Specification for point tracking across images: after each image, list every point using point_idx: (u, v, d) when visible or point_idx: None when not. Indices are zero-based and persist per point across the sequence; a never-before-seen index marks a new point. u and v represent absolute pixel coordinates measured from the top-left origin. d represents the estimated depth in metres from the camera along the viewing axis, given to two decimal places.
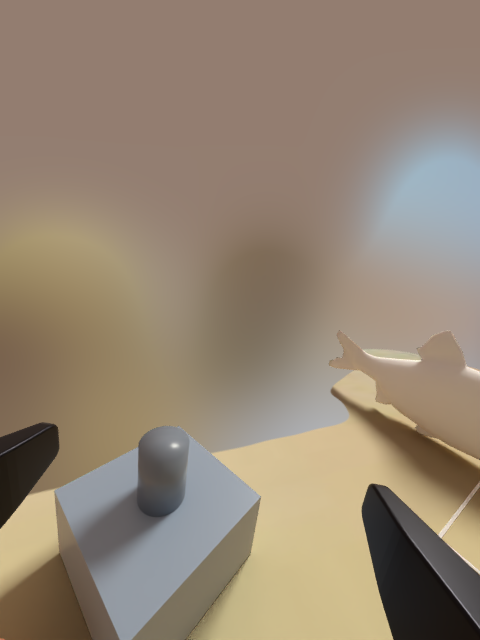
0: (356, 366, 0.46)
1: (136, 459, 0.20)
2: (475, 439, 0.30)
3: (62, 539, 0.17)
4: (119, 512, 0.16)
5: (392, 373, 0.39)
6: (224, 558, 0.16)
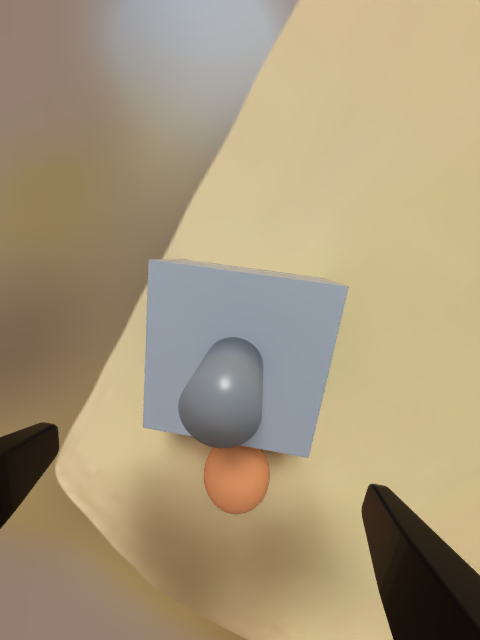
0: None
1: (165, 351, 0.14)
2: None
3: None
4: None
5: None
6: None
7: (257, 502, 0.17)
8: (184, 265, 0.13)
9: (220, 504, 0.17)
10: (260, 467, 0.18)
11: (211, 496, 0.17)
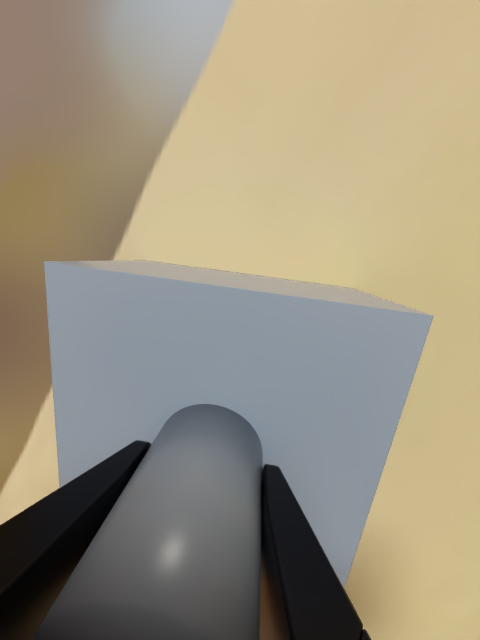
0: None
1: (88, 424, 0.08)
2: None
3: None
4: None
5: None
6: None
7: None
8: (111, 272, 0.07)
9: None
10: None
11: None
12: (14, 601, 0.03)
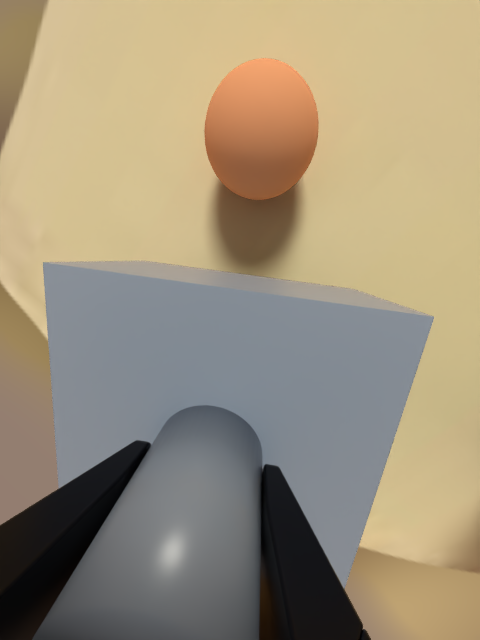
0: None
1: (87, 426, 0.08)
2: None
3: None
4: None
5: None
6: None
7: (302, 132, 0.10)
8: (110, 273, 0.07)
9: (236, 123, 0.09)
10: (306, 83, 0.10)
11: (218, 125, 0.10)
12: (14, 601, 0.03)
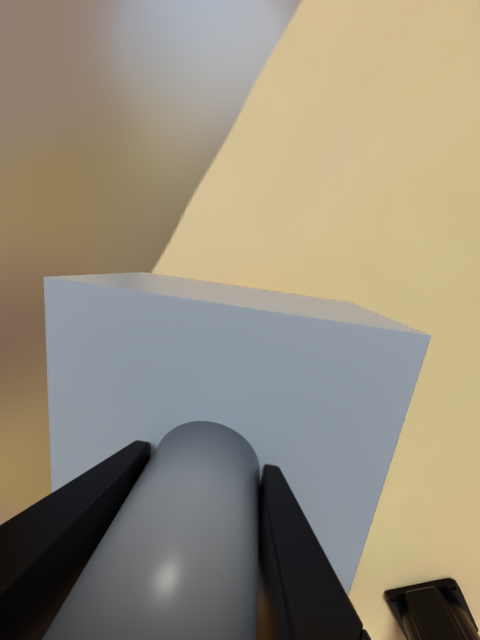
0: None
1: (83, 441, 0.08)
2: None
3: None
4: None
5: None
6: None
7: None
8: (110, 288, 0.07)
9: None
10: None
11: None
12: (14, 601, 0.03)
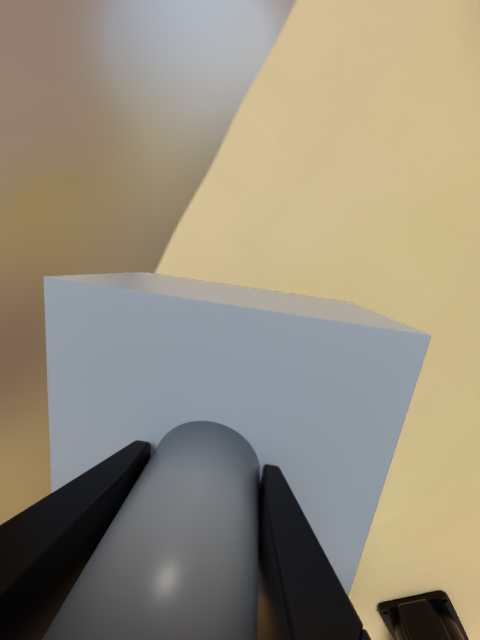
0: None
1: (83, 440, 0.08)
2: None
3: None
4: None
5: None
6: None
7: None
8: (110, 288, 0.07)
9: None
10: None
11: None
12: (14, 601, 0.03)
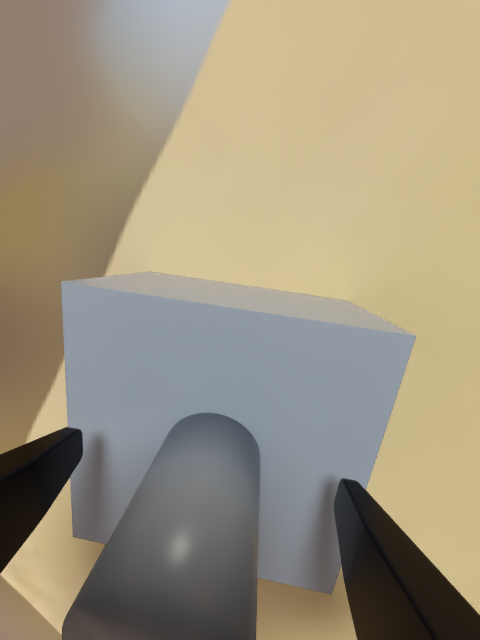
0: None
1: (99, 430, 0.08)
2: None
3: None
4: None
5: None
6: None
7: None
8: (123, 292, 0.07)
9: None
10: None
11: None
12: None
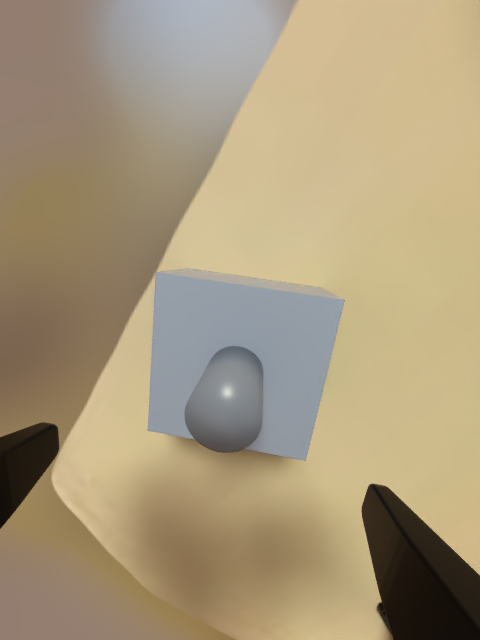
0: None
1: (170, 359, 0.14)
2: None
3: None
4: None
5: None
6: None
7: None
8: (189, 278, 0.13)
9: None
10: None
11: None
12: None
